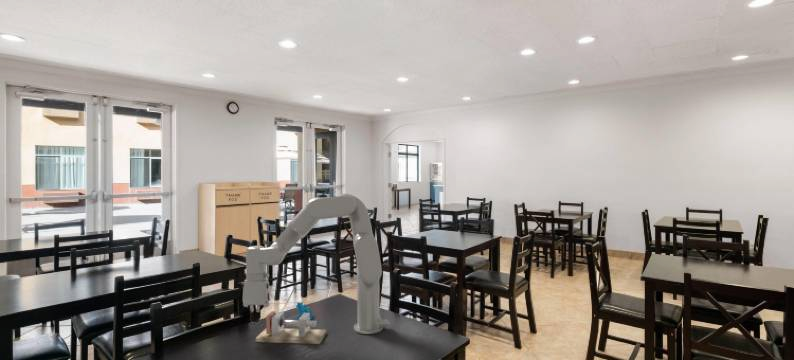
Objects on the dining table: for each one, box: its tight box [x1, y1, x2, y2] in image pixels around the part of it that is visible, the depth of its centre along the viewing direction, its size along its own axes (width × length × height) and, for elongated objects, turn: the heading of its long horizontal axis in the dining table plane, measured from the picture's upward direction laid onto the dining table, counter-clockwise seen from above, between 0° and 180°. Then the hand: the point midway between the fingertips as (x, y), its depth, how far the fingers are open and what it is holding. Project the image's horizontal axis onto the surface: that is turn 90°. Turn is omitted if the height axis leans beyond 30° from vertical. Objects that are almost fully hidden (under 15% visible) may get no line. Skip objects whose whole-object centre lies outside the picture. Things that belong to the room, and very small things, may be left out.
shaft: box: [265, 310, 318, 334], centre depth 160 cm, size 20×6×7 cm, turn 86°
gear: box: [295, 301, 314, 321], centre depth 180 cm, size 11×6×10 cm
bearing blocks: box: [272, 311, 311, 338], centre depth 160 cm, size 14×7×8 cm, turn 86°
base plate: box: [255, 327, 327, 345], centre depth 160 cm, size 26×10×2 cm, turn 86°
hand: (256, 320), depth 161 cm, fingers closed
